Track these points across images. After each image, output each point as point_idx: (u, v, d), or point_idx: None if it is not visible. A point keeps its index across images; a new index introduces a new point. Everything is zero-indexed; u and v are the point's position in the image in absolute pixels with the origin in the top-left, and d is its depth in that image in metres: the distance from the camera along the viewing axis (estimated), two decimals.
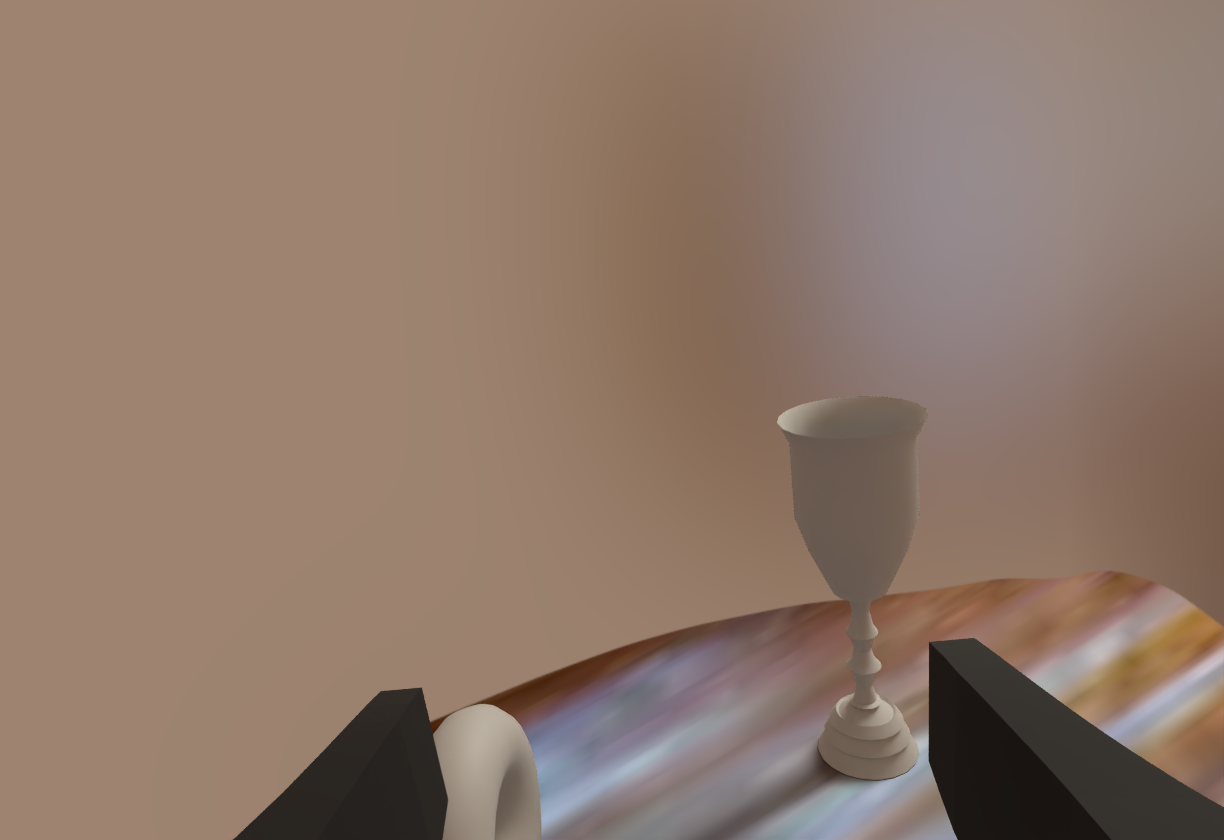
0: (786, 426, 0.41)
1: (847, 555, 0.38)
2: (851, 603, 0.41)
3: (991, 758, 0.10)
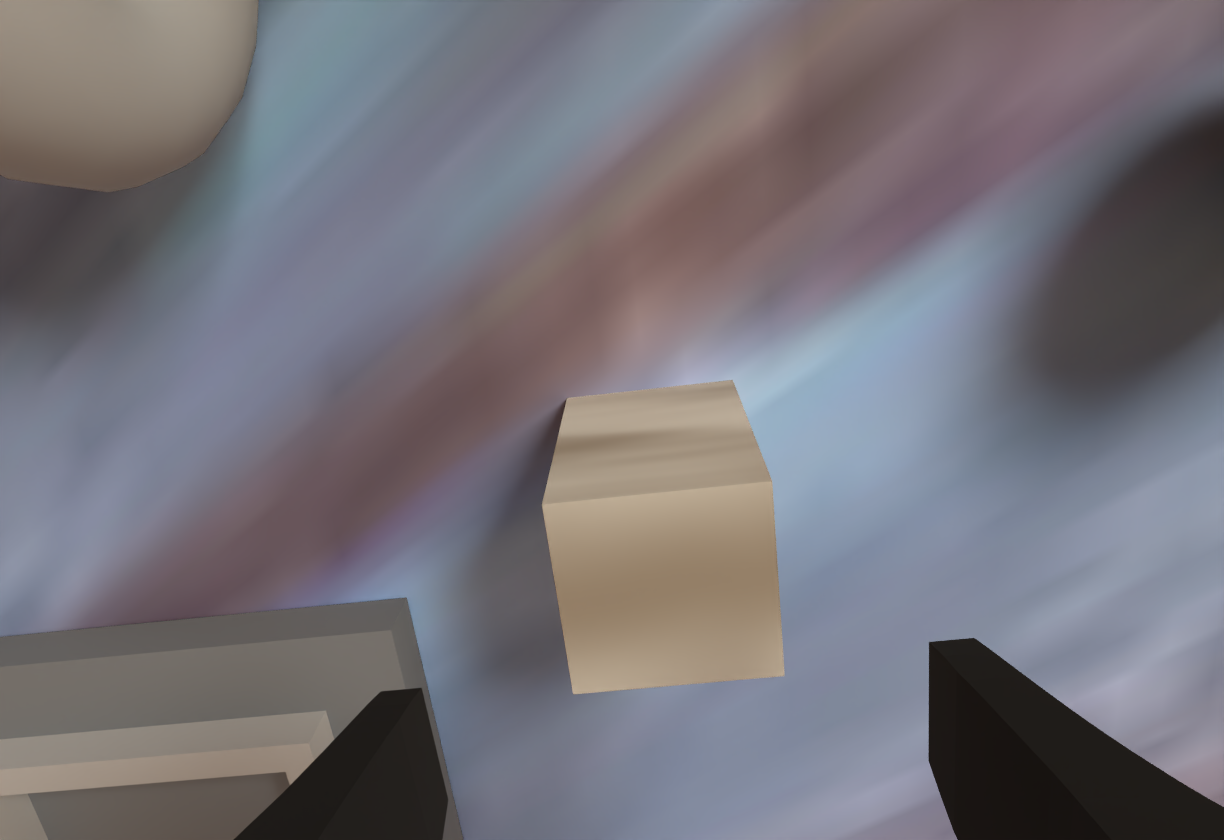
0: None
1: None
2: None
3: (991, 758, 0.10)
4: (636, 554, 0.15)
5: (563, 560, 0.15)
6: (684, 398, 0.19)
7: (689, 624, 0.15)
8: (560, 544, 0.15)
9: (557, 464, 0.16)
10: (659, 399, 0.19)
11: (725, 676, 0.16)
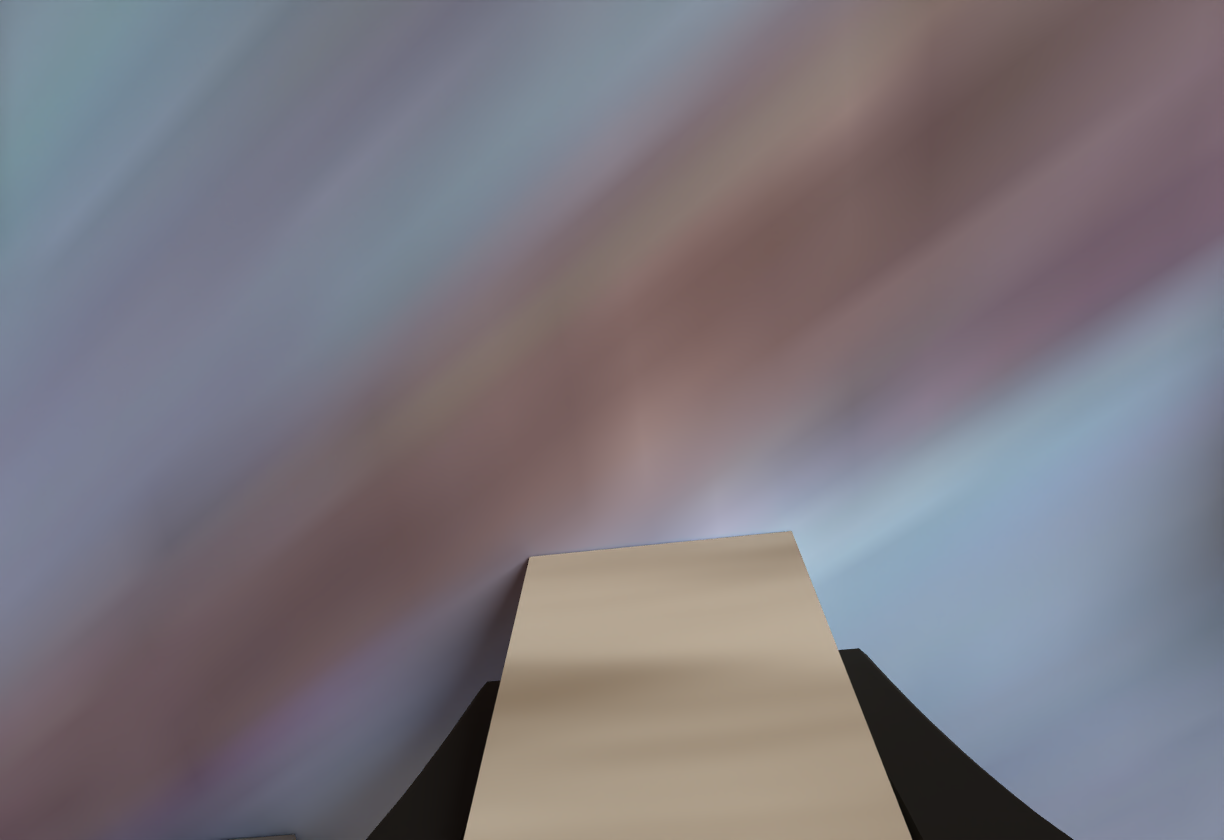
0: None
1: None
2: None
3: None
4: None
5: None
6: (716, 573, 0.12)
7: None
8: None
9: (495, 750, 0.09)
10: (676, 572, 0.12)
11: None
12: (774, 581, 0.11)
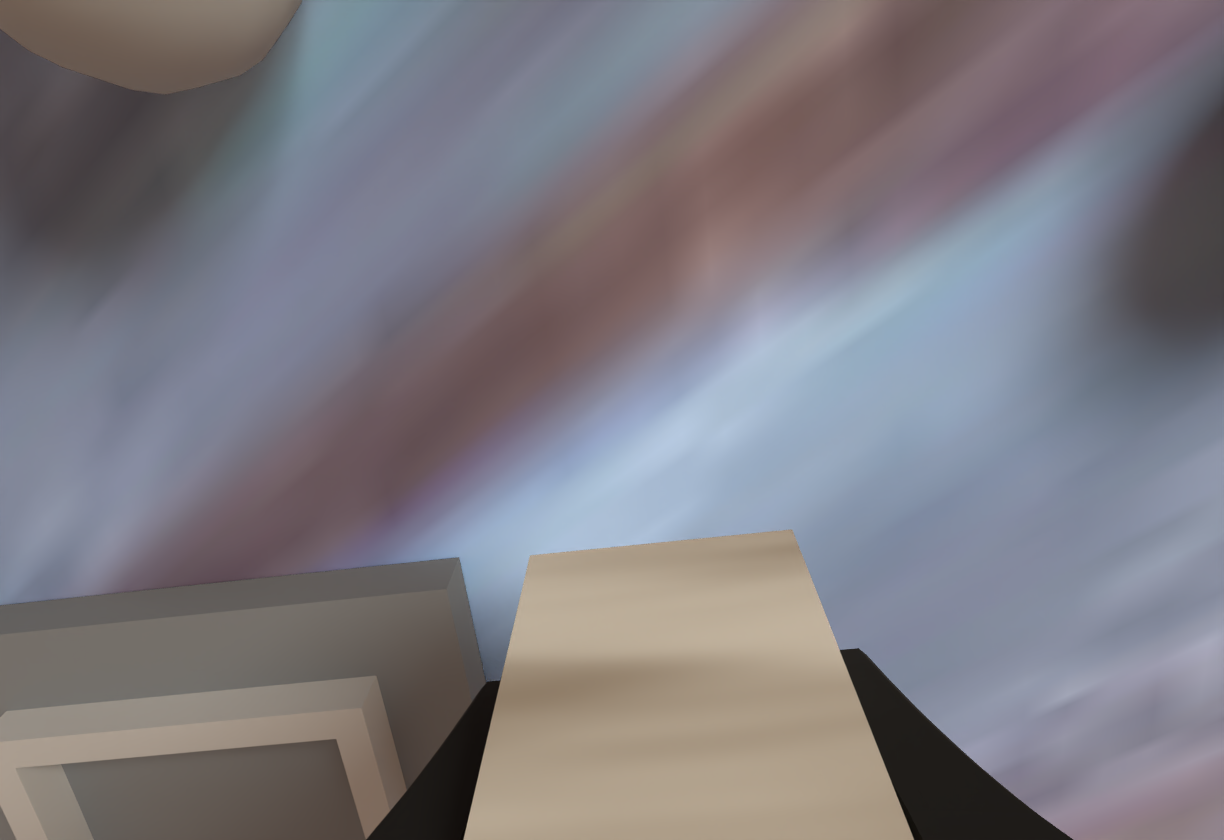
0: None
1: None
2: None
3: None
4: None
5: None
6: (717, 571, 0.12)
7: None
8: None
9: (496, 749, 0.09)
10: (677, 571, 0.12)
11: None
12: (775, 579, 0.11)
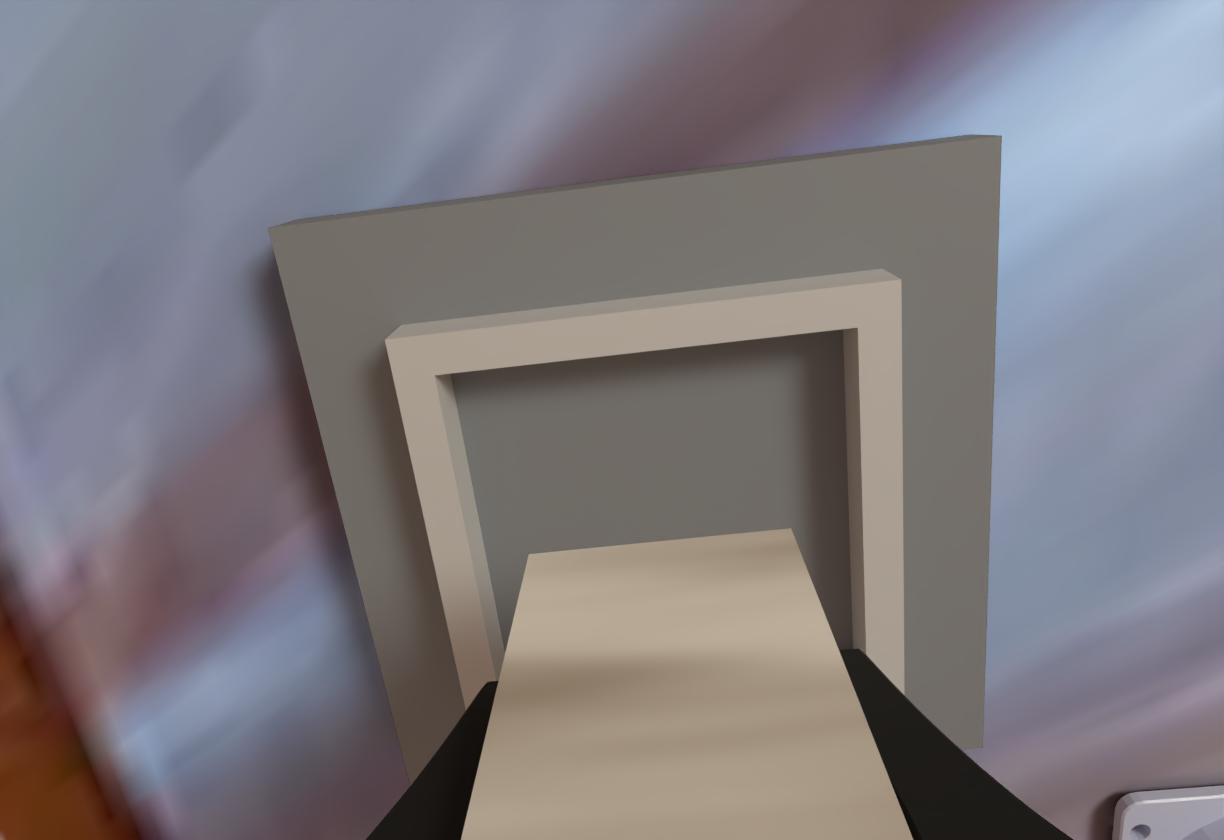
0: None
1: None
2: None
3: None
4: None
5: None
6: (716, 570, 0.12)
7: None
8: None
9: (494, 747, 0.09)
10: (675, 569, 0.12)
11: None
12: (773, 578, 0.11)
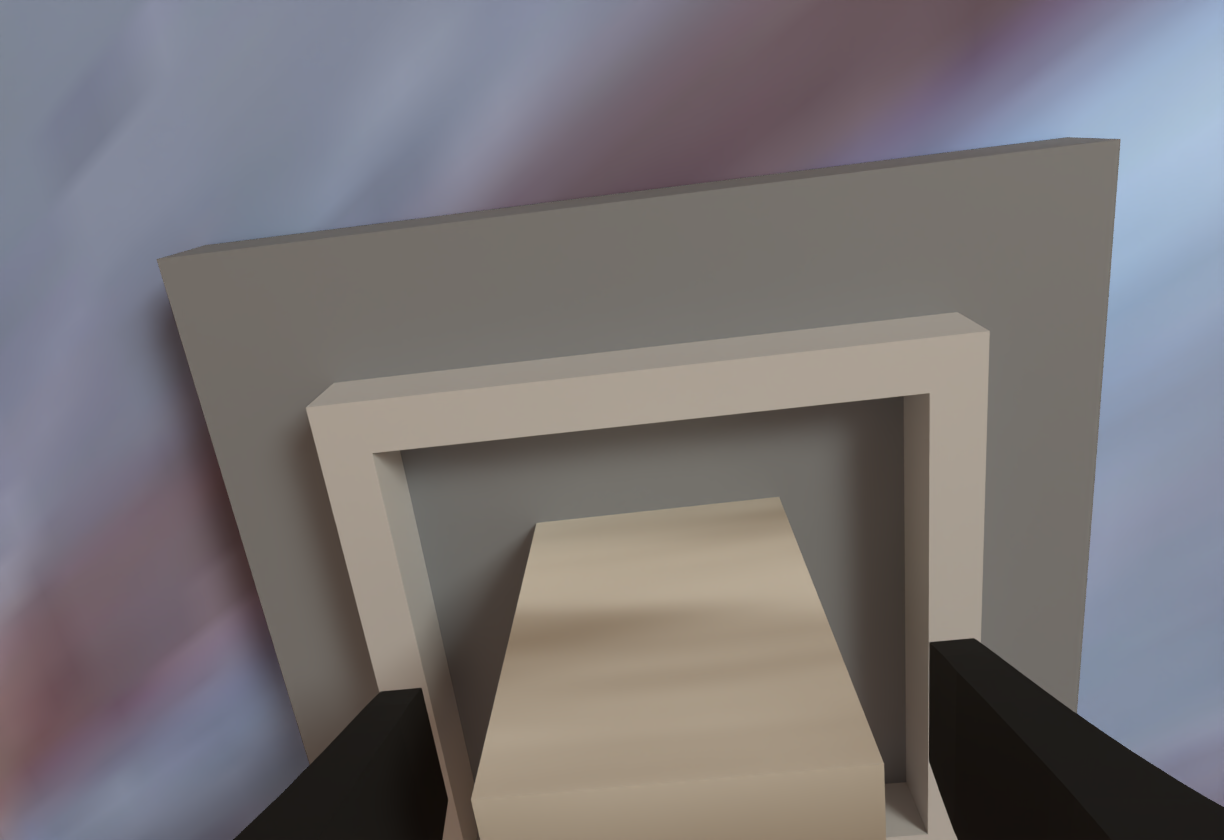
0: None
1: None
2: None
3: (990, 758, 0.10)
4: None
5: None
6: (709, 533, 0.13)
7: None
8: None
9: (508, 683, 0.10)
10: (672, 534, 0.13)
11: None
12: (762, 539, 0.12)
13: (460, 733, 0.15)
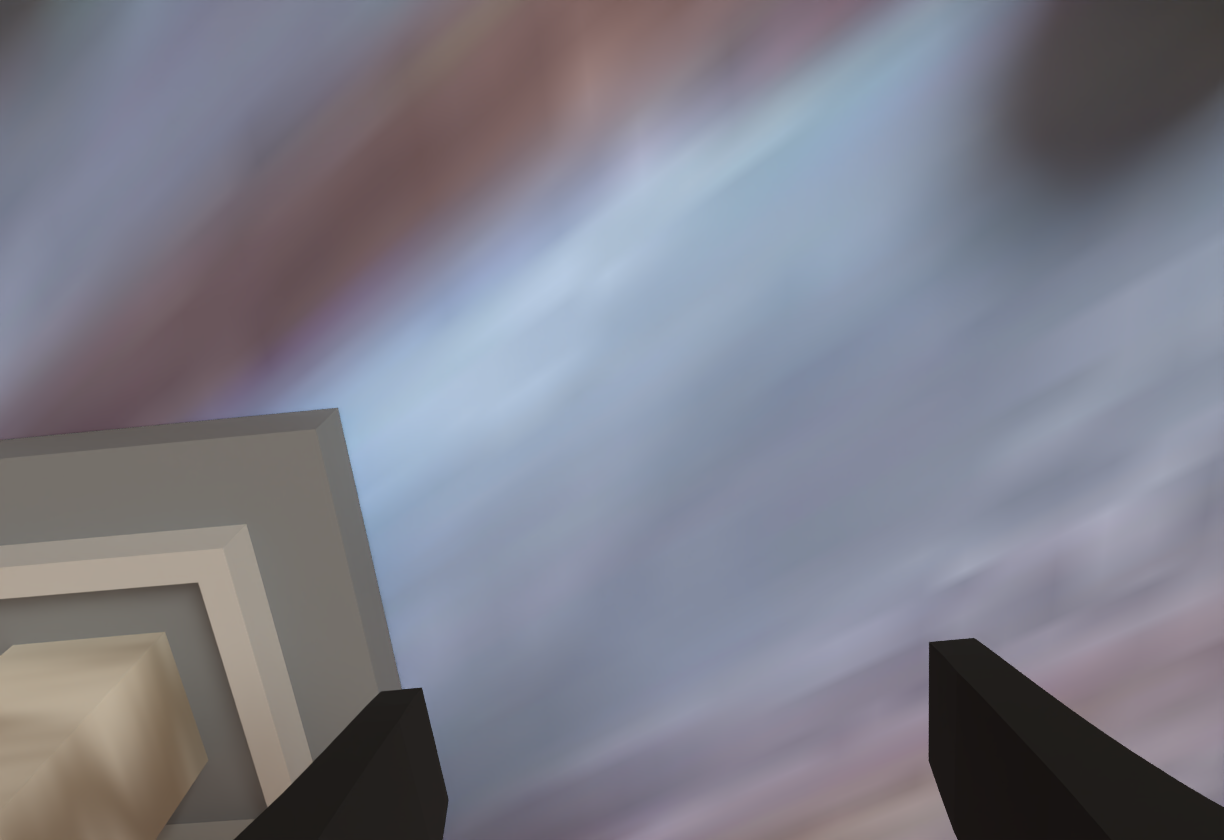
0: None
1: None
2: None
3: (990, 758, 0.10)
4: None
5: None
6: (93, 660, 0.20)
7: None
8: None
9: None
10: (74, 659, 0.20)
11: None
12: (114, 667, 0.20)
13: None
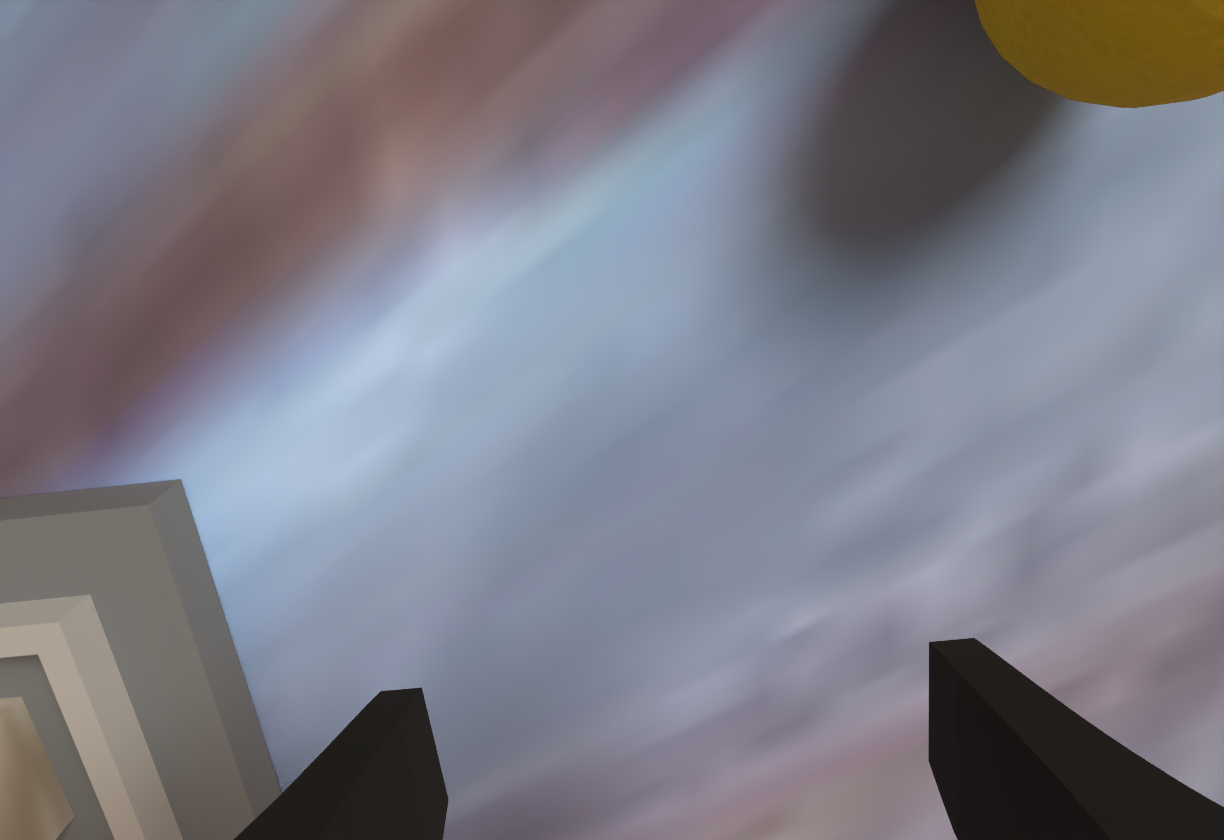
0: None
1: None
2: None
3: (991, 759, 0.10)
4: None
5: None
6: None
7: None
8: None
9: None
10: None
11: None
12: None
13: None
